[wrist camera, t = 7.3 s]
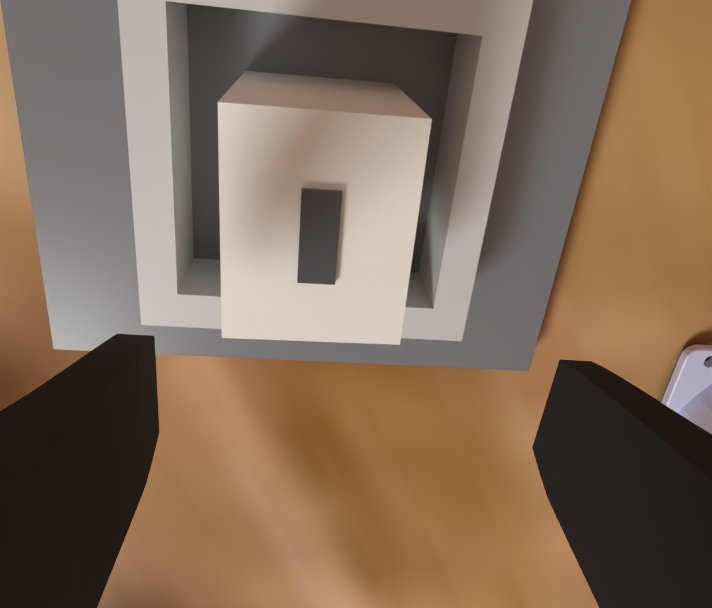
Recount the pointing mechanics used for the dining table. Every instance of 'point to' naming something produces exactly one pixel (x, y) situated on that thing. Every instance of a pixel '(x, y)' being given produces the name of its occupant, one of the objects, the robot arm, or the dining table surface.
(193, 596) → the dining table surface
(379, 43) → the outlet plate
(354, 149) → the brick
